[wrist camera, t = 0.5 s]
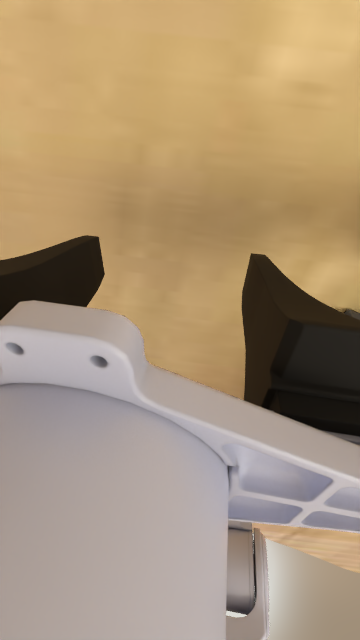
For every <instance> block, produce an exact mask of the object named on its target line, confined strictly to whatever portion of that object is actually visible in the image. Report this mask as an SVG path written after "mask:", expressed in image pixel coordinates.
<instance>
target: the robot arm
mask: <svg viewBox="0 0 360 640" xmlns="http://www.w3.org/2000/svg"><path fill="white" fill-rule="evenodd" d="M104 275H105V273H104V267H103V261H102V255H101V249H100V242H99V237H96V236H81V237H78V238H74V239H71V240H69V241H66V242H63V243H60V244H57V245H55V246H52V247H49V248H46V249H43V250H40V251H37V252H34V253H30V254H27V255H23V256H19V257H15V258H11V259H6V260H0V640H268V638H269V614H268V612H269V584H268V566H267V553H266V542H265V537H264V535H263V534H262V533H261V532H260V529H258V528H254V540H253V536H252V523H262V524H273V525H283V526H294V527H305V528H315V529H326V530H335V531H344V532H353V533H360V320H359V319H356V318H353V317H351V316H349V315H346V314H344V313H342V312H339V311H337V310H335V309H333V308H331V307H329V306H327V305H325V304H324V303H322V302H320V301H318V300H316V299H315V298H313V297H312V296H310V295H309V294H307V293H306V292H304V291H303V290H301V289H300V288H299V287H298V286H296V285H295V284H294V283H293V282H292V281H290V280H289V279H288V278H287V277H286V276H285V275H284V274H283V273H282V272H281V271H280V270H279V269H278V268H277V267H276V266H275V265H274V264H273V263H272V262H271V260H270V259H269V258H268V257H267V256H266V255H261V254H252V253H251V256H250V260H249V265H248V269H247V274H246V278H245V282H244V287H243V291H242V316H243V326H244V336H245V347H246V364H245V393H244V400H242V399H239V398H237V397H234V396H232V395H229V394H226V393H224V392H221V391H219V390H216V389H214V388H211V387H209V386H206V385H204V384H201V383H198V382H196V381H193V380H191V379H188V378H186V377H183V376H181V375H178V374H176V373H173V372H170V371H168V370H165V369H163V368H160V367H158V366H155V365H153V364H150V363H149V362H148V361H147V360H146V358H145V354H144V340H143V338H142V335H141V333H140V331H139V328H138V327H137V326H136V325H135V324H133V323H132V322H131V321H130V320H129V319H128V318H126V317H125V316H123V315H120V314H117V313H114V312H111V311H108V310H102V309H94V308H87V305H88V304H89V302H90V301H91V299H92V298H93V296H94V295H95V293H96V292H97V290H98V288H99V286H100V284H101V282H102V279H103V277H104ZM253 543H254V544H253ZM253 550H254V554H253ZM254 586H255V591H254ZM226 610H227V611H232V612H237V613H241V614H246V615H247V616H245V617H240V618H235V617H231V616H226Z"/></svg>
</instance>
